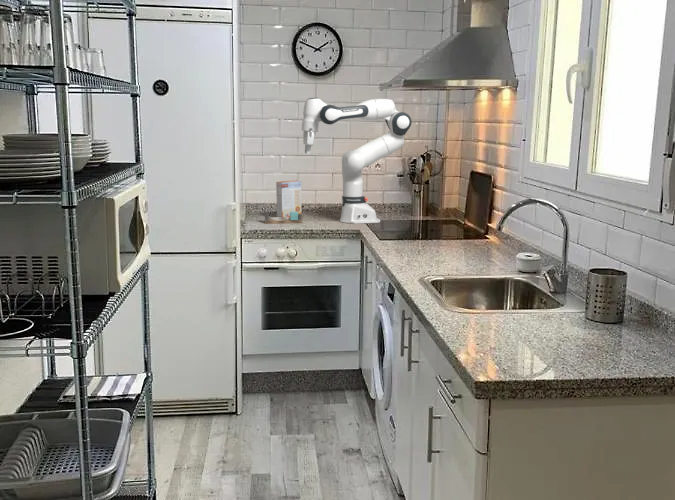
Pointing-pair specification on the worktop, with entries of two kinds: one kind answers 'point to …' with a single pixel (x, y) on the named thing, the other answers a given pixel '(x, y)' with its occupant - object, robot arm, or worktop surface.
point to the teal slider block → (294, 215)
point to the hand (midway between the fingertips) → (307, 153)
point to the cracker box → (288, 198)
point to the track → (280, 219)
